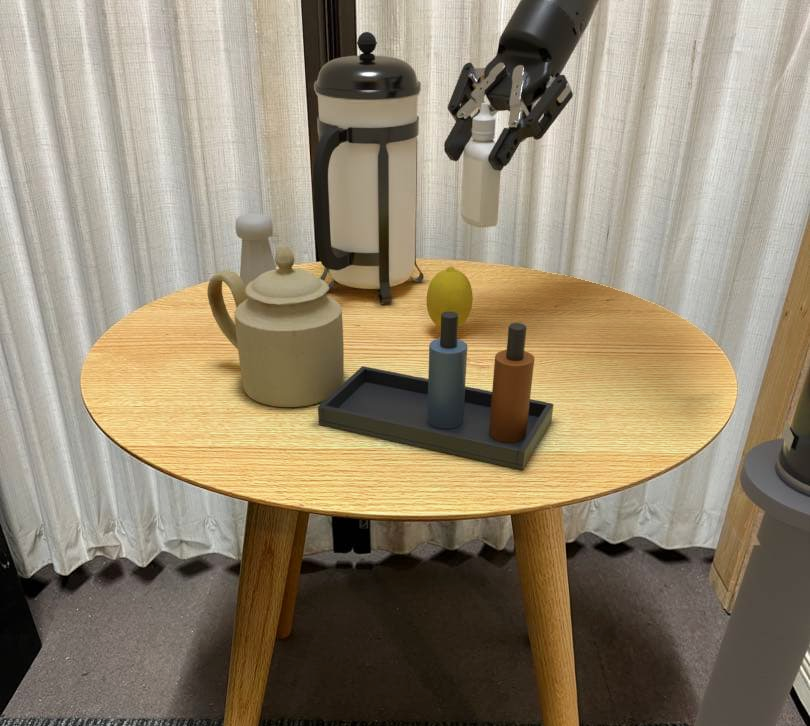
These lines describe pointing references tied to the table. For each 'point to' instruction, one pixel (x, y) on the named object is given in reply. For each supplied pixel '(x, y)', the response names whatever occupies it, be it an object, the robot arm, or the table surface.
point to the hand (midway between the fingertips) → (471, 160)
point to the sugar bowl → (283, 333)
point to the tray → (407, 417)
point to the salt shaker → (255, 245)
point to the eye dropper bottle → (480, 174)
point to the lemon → (449, 295)
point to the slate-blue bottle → (447, 375)
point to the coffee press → (367, 170)
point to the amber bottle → (511, 388)
